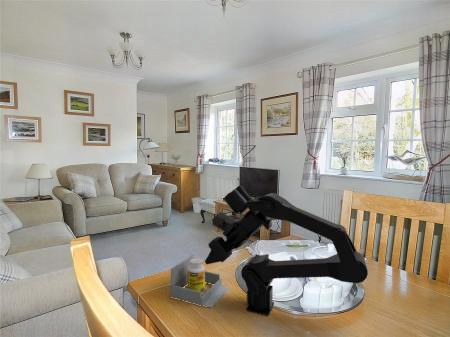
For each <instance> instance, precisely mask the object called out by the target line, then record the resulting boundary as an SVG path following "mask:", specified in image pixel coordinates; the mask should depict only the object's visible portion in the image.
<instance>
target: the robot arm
mask: <svg viewBox="0 0 450 337" xmlns="http://www.w3.org/2000/svg"><path fill="white" fill-rule="evenodd" d="M222 200H223V201H224V202H225V203H226V204H227V206H228V207H229V208H230V209H231V211H232V212H233V213H234V214H235V215H239V214H240V215H243V214H244V215H243V216H242V217H240V218H239V219H237V220H235V219H234V218H232V217H231V216H229V215H228V214H226V213H225V212H219V213H217V214H215V216H214V217H213V218H212V219H211V221H212V226H213V227H216V228H217V229H220V230H221V231H223V232H222V234H223V236H224V237H225V238H226V240H225V239H224V238H223V237H222V236H217V237H215V238H213V239H212V240H211V241H210V242H209V243H208V248H209V249H210V251H209V253H208V255H207V256H206V258H205V260H204V263H205V264H206V265H211V264H214V263H215V264H216V263H224V262H225V261H226V260H227V259H228V258H230V257H231V256H232V255H233V250H238V249H239V248H241V247H242V246H243V245H244V244H245V243H247V242H248V241H249V240H250V238H251V237H252V236H253V235H254V234H256V232H257V231H259V230H260V229H261V228H262V227H264V228H265V229H266V230H270V229H271V228H273V225H272V224H273V223H272V221H273V220H280V221H285V222H289V223H291V224H294V225H296V226H298V227H300V228H302V229H305V230H307V231H310V232H311V233H314V234H317V235H318V236H321V237H323V238H325V239H328V240H329V241H331V242H332V244H333V246H334V249H335V251H336V254H333V255H331V256H328V257H324V258H309V259H307V258H306V259H287V260H286V259H285V260H273V259H271V258H270V255H269V253H265V254H255V255H254V256H252V257H250V259H249V260H248V261H247V262H246V263H245V264H244V265H243V267H242V268H241V271H240V273H241V274H240V275H241V277H242V279H243V281H244V282H245V285H246V288H247V290H246V305H247V306H246V311H248V312H251V313H255V314H259V315H262V316H263V315H264V316H267V317H268V316H270V313H271V311H272V310H273V308H274V306H273V305H275V303H274V302H273V296H274V295H273V289H274V288H273V287H274V286H273V285H271V284H272V283H273V281H274V279H300V278H301V279H303V278H307V279H308V278H331V279H333V280H336V281H339V282H342V283H349V284H361V283H363V282H365V280H366V279H367V277H368V275H369V273H368V271H369V270H368V266H367V262H366V258H365V257H364V256H363V255H362V254H361V253H360V252H359V251H357V249H356V247H355V244H354V243H353V241H352V239H351V238H350V235H349V234H348V231H347V229H346V227H345V226H344V225H342V224H338V223H334V222H332V221H330V220H327V219H325V218H322V217H320V216H319V215H315V214H314V213H311V212H309V211H306V210H304V209H301V208H299V207H297V206H295V205H293V204H292V203H291V202H289V201H288V200H287V199H286V198H284V197H283V196H281V195H279V194H278V193H274V192H271V193H268V194H266V195H263V196H262V197H261V196H260V197H258V196H256V197H254V198H253V197H252V196H251V195H250V194H249V193H248V192H247V191H246V189H245V188H244V186H243V185H241V184H240V185H238V186H236V187H235V188H234V189H233V190H231V191H230V192H228V193H227V194H226V195H225V196H224V198H223V199H222ZM247 210H248V211H247ZM245 212H246V213H245Z"/></svg>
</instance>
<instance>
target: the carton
mask: <svg viewBox="0 0 450 337" xmlns="http://www.w3.org/2000/svg"><path fill="white" fill-rule="evenodd" d="M192 259H195V258H194V254H192V255H190V256H189V257H187V258H185V259H184V260H183V261H180V262H179V263H178V264H176V265H175V266H173V267H171V268H170V285H169V298H170V297H173V298H177V299H180V300H184V301H188V302H191V303H195V304H198V305H201V306H203V305H204V306H207V307H210V308H209V309H211V308H212V307H213V306H214V305H215V304H216V303H217V304H218V303H219V301H220V300H221V299H222V298H223V297H222V296H223V295H224V296H225V295H226V293H227V292H228V291H229V290H230V289H229V288H230V286H225V285H222V282H223V281H222V280H223V279H222V278H221V274H220V273H216V272H212V271H211V272H210V271H207V270H205V282H207V283H211V284H214V285H211V287H210V288H209V289H208V290H207V291H206V292H204V293H203V295H202V294H201V292H200V291H196V290H191V289H188V287H185V288H183V287H184V286H185V285H187V284H188V267H189V266H190V260H192ZM228 289H229V290H228ZM227 290H228V291H227ZM226 291H227V292H226ZM221 297H222V298H221ZM217 304H216V305H217ZM216 305H215V306H216ZM201 306H200V307H201ZM215 306H214V307H215ZM207 307H206V308H207ZM214 307H213V308H214ZM213 308H212V309H213Z"/></svg>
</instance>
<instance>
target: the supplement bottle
mask: <svg viewBox="0 0 450 337" xmlns="http://www.w3.org/2000/svg"><path fill="white" fill-rule="evenodd" d="M203 262H204V261H203V259H202V258H198V257H197V258H196V257H195V258H194V259H192V260H190V266H189V267H188V286H187V289H191V290H196V291H200V292H201V295H202V293H203V294H205V290H206V284H205V271H206V267H205V265H204V264H203Z"/></svg>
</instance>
